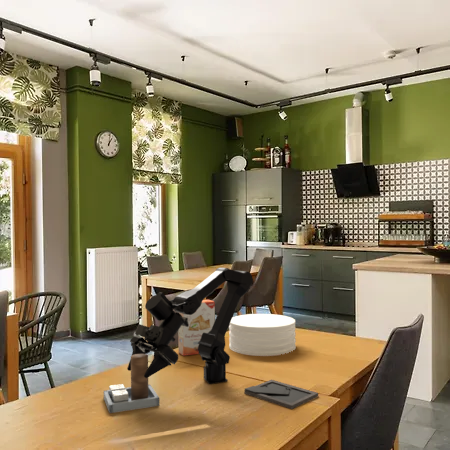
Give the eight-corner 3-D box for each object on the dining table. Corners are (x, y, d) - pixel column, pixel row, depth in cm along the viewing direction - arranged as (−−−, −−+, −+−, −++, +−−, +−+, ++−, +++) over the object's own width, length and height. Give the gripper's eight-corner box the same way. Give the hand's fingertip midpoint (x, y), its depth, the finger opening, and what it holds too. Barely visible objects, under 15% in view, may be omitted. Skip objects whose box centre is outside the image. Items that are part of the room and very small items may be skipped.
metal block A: (123, 397, 141) (123, 383, 141) (125, 401, 137) (125, 388, 137) (109, 399, 139) (109, 385, 139) (111, 403, 135) (111, 390, 135)
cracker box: (183, 356, 186) (183, 303, 186) (178, 353, 191) (177, 301, 191) (215, 352, 192) (215, 300, 192) (209, 348, 198) (208, 298, 198)
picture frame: (244, 395, 145) (291, 411, 132) (244, 388, 145) (291, 404, 132) (271, 384, 155) (318, 398, 142) (271, 378, 155) (318, 391, 142)
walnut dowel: (149, 397, 141) (148, 353, 141) (147, 403, 136) (147, 358, 136) (132, 397, 140) (132, 353, 140) (129, 403, 135) (129, 358, 135)
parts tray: (150, 394, 145) (150, 384, 145) (159, 408, 134) (159, 397, 134) (103, 400, 140) (103, 390, 140) (109, 416, 129) (109, 405, 129)
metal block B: (126, 403, 136) (125, 389, 136) (128, 408, 132) (128, 393, 132) (111, 405, 135) (111, 391, 135) (114, 410, 131) (113, 395, 131)
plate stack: (216, 349, 196) (216, 322, 196) (251, 336, 219) (251, 311, 219) (275, 360, 181) (275, 330, 181) (306, 344, 204) (306, 317, 204)
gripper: (135, 309, 148) (103, 351, 140) (169, 318, 134) (136, 365, 127) (156, 330, 153) (126, 372, 146) (191, 341, 139) (160, 387, 132)
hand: (136, 373), depth 137 cm, fingers open, 9 cm apart
